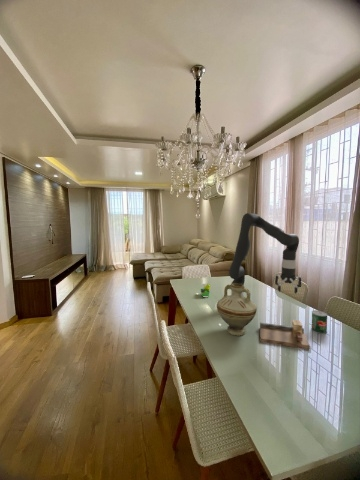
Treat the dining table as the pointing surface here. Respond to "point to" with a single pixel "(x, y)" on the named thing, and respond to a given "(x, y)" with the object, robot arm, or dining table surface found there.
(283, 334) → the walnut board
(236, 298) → the amphora
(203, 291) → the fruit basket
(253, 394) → the dining table surface
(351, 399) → the dining table surface
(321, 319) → the canned tomato
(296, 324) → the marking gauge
